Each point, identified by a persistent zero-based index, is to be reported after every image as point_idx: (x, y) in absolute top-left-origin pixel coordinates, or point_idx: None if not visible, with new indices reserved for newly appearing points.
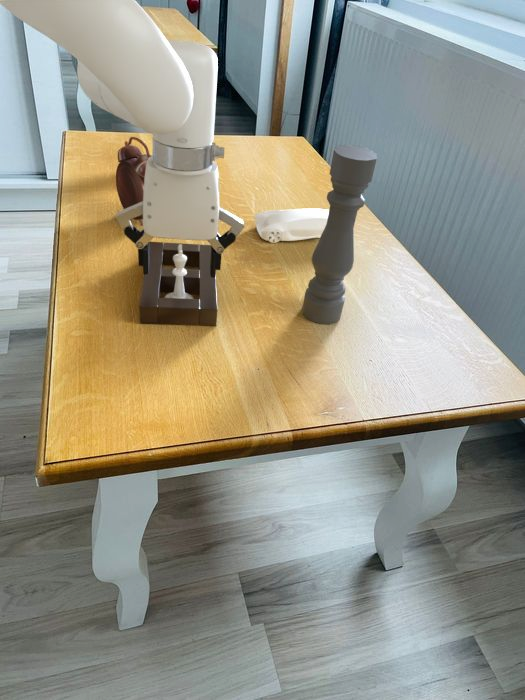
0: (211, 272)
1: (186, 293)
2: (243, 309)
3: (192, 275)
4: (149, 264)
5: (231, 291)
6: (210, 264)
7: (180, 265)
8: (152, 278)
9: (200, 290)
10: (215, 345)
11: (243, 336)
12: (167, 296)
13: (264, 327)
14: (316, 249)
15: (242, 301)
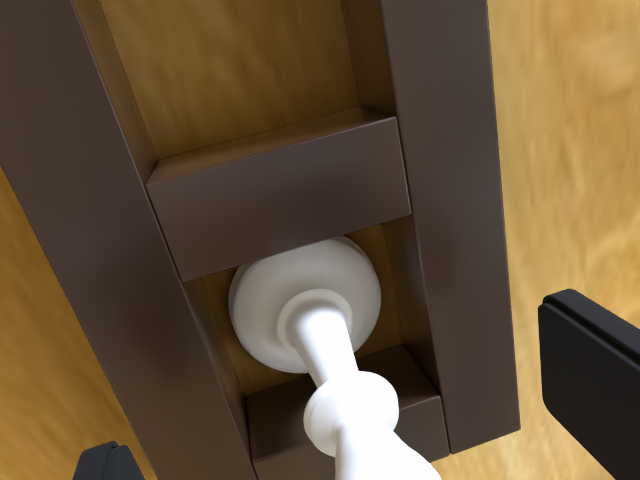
0: (572, 430)
1: (333, 256)
2: (571, 230)
3: (368, 205)
4: (132, 467)
5: (522, 100)
6: (570, 361)
7: None
8: (145, 326)
9: (436, 332)
10: (479, 459)
11: None
12: (251, 317)
13: (635, 312)
14: None
15: (569, 171)
